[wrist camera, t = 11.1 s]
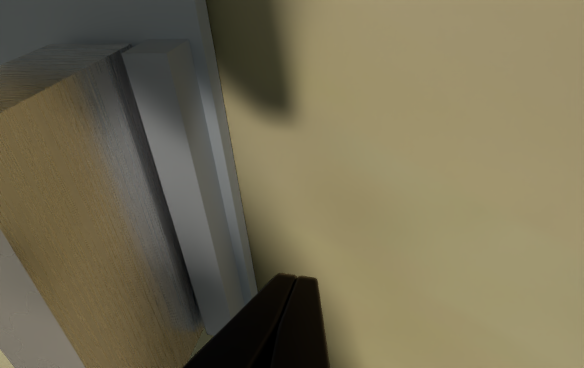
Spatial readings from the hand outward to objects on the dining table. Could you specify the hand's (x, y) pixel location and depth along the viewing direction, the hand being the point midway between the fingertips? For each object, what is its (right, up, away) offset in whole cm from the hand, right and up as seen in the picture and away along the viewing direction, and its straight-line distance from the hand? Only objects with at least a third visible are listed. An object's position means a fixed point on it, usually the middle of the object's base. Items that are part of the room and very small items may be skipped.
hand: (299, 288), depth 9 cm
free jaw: (-4, +2, +3) cm, 6 cm away
